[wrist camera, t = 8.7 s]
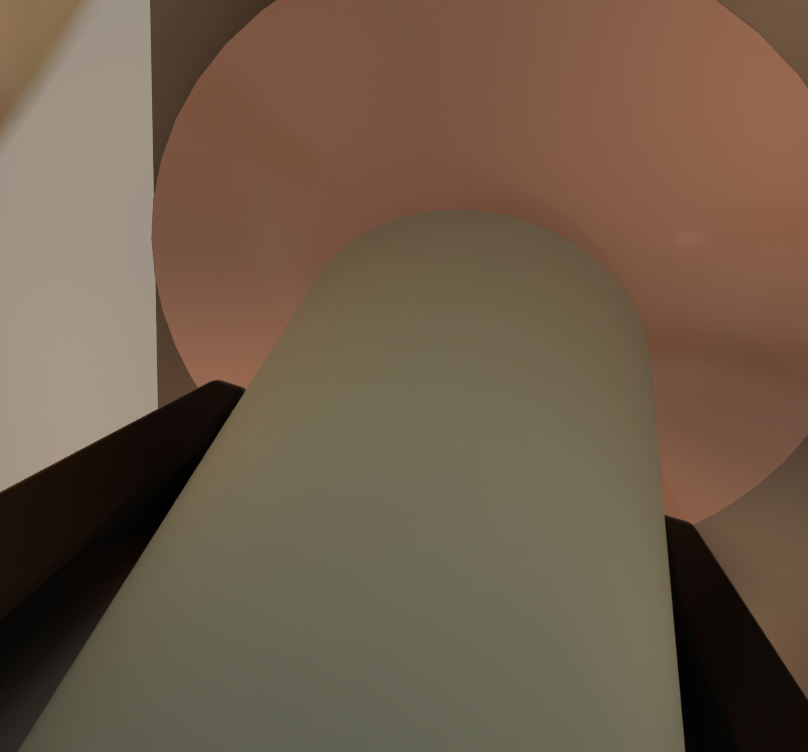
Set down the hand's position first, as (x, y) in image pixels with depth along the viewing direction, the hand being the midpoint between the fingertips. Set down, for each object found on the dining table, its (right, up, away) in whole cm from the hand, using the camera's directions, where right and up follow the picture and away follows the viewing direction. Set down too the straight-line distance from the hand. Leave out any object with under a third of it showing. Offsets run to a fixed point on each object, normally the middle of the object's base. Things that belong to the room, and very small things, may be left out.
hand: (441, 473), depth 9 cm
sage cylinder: (0, +1, +2) cm, 2 cm away
